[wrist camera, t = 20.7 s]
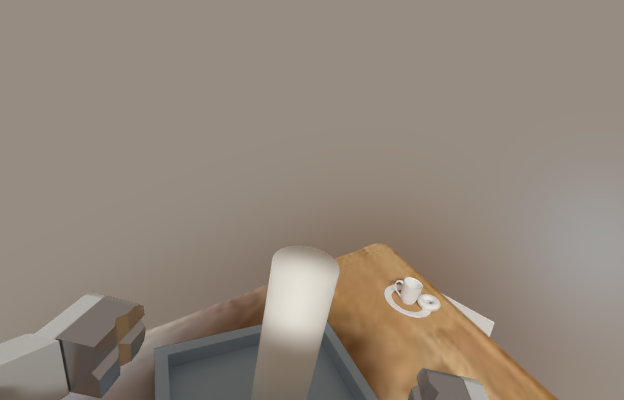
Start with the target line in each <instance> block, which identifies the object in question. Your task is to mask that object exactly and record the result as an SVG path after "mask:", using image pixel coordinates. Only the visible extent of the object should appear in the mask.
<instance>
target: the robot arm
mask: <svg viewBox="0 0 624 400" xmlns="http://www.w3.org/2000/svg"><path fill="white" fill-rule="evenodd" d="M144 315H145V314H144V306H143V305H140V304H137V303H133V302H129V301H125V300H121V299H118V298H114V297H110V296H105V295H101V294H96V293H93V292H92V293H89V294H86V295H84V296H83V297H82V298H81V299H79V300H78V301H77V302H75V303H74V304H73V305H71V306H70V307H69V308H67V309H66V310H65V311H64V312H62V313H61V314H60V315H59V316H57V317H56V318H55V319H53V320H52V321H51V322H49V323H48V324H47V325H46V326H44V327H43V328H42V329H41V330H39V331H38V332H37V333H35V334H30V333H28V334H25V335H22V336H20V337H17V338H14V339H12V340H9V341H6V342H3V343H1V344H0V400H60V399H62V398H64V397H65V396H67V395H68V394H69V392H73V393H78V394H82V395H87V396H92V397H97V398H102V397H103V396H104V394H105V393H106V392H107V391H108V389H109V388H110V387H111V386H112V384H113V383H114V382H115V381H116V379H117V378H118V377H119V376H120V367H121V366H122V365H124V364H126V363H128V362H130V361H132V359H133V358H134V357H135V355H136V354H137V353H138V351H139V349H140V347H141V345H142V343H143V341H144V337H145V326H144V324H143V323H142V322H141V320H140V319H141V318H142V317H143V316H144ZM417 381H418V385H417V386H415V387H413V388H412V389H411V392H410V394H409V398H408V400H489V398H488V396H487V394H486V392H485V390H484V388H483V385H482V384H481V383H480V382H479V381H478V380H475V379H470V378H466V377H461V376H457V375H453V374H448V373H444V372H439V371H434V370H430V369H425V368H422V369H421V370H420V371H419V373H418V375H417Z"/></svg>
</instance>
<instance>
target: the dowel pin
mask: <svg viewBox="0 0 624 400" xmlns="http://www.w3.org/2000/svg"><path fill="white" fill-rule="evenodd" d="M338 275H339V266H338V264H337V262H336V261H335V259H334V258H332V257H331V256H330V255H329V254H327V253H325V252H323V251H321V250H319V249H316V248H313V247H309V246H299V245H296V246H288V247H284V248H282V249H280V250H278V251H277V252H276V253H275V254H274V256H273V259H272V266H271V272H270V278H269V285H268V291H267V298H266V304H265V311H264V317H263V324H262V330H261V336H260V343H259V349H258V356H257V362H256V369H255V375H254V382H253V388H252V395H251V400H307V396H308V392H309V388H310V384H311V380H312V376H313V373H314V369H315V365H316V361H317V357H318V353H319V349H320V345H321V341H322V338H323V334H324V330H325V326H326V322H327V318H328V314H329V310H330V307H331V303H332V299H333V295H334V291H335V287H336V283H337V279H338Z"/></svg>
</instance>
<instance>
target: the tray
mask: <svg viewBox="0 0 624 400" xmlns="http://www.w3.org/2000/svg"><path fill="white" fill-rule="evenodd" d="M261 330H262V324H260V325H256V326H251V327H247V328H242V329H238V330H234V331H229V332H225V333H220V334H216V335H212V336H207V337H203V338H198V339H194V340H189V341H185V342H181V343H176V344H172V345H167V346H163V347H159V348H154V352H155V400H251V395H252V388H253V382H254V375H255V369H256V362H257V356H258V349H259V343H260V336H261ZM307 400H378V398H377V396H376V395H375V393H374V392H373V390H372V389H371V387H370V386H369V384H368V383H367V381H366V380H365V378H364V377H363V375H362V374H361V372H360V370H359V369H358V367H357V366H356V364H355V363H354V361H353V360H352V358H351V357H350V355H349V354H348V352H347V351H346V349H345V347H344V346H343V344H342V343H341V341H340V340H339V338H338V337H337V335H336V334H335V332H334V331H333V329H332V328H331V326H330V324H329V323H328V321H327V322H326V326H325V330H324V334H323V338H322V341H321V345H320V349H319V353H318V357H317V361H316V365H315V369H314V373H313V376H312V380H311V384H310V388H309V392H308V396H307Z"/></svg>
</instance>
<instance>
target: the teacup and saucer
mask: <svg viewBox="0 0 624 400" xmlns="http://www.w3.org/2000/svg"><path fill="white" fill-rule="evenodd" d="M397 282H401V283H402V285H396V283H397ZM422 288H423V285H422V283H421V282H420V281H418V280H416V279H414V278H410V277H407V278H405V279H404V281H402V280H397V281H396V282H395V285H391V286H388V287H387V288H386V289H385V291H384V296H385V298H386V300H387V302H388V303H389V304H390V305H391V306H392V307H393V308H394V309H396V310H397V311H399V312H401V313H403V314H405V315H407V316H411V317H417V318H421V317H426V316H428V315H429V314H430V312H431V311H436V310H438V309H439V308H440V301H439V300H438V299H437V298H436V297H434V296H432V295H429V294H421V291H422ZM398 290H401V294H400V293H399V292H398ZM394 291H397V293H398V295H399V296H400V298H401V301H402V302H403V303H405V304H407V305H412V304H414V303H415V302H416V300H417V303H418V305H419V306H420V307H421V308H422V310H421V311H419V312H410V311H406V310H404V309H402V308H400V307H399V306H398V305H396V304H395V303H394V301H393V300H392V297H391V294H392V292H394ZM443 295H444V294H443ZM444 296H445V295H444ZM445 297H446V298H447V299H448V300H449V301H450V302H451V303H452V304H454V305H455V306H456V307H457V308H458V309H459V310H460V311H461V312H462V313H463V314H464V315H466V316H467V317H468V318H469V319H470V320H471V321H473V323H475V324H476V325H477V326H478V327H479V328H480V329H481V330H483V332H485V333H486V334H487V335H488V336H489V337H490V335H491V332H492V329H493V326H494V324H495V322H493V321H491V320H489V319H488V318H486V317H484V316H482V315H480V314H479V313H477V312H475V311H473V310H471V309H469V308H467V307H466V306H464V305H462V304H460V303H458V302H456V301H454V300H452V299H451V298H449V297H447V296H445ZM429 302H431V303H432V304H430V303H429Z"/></svg>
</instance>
